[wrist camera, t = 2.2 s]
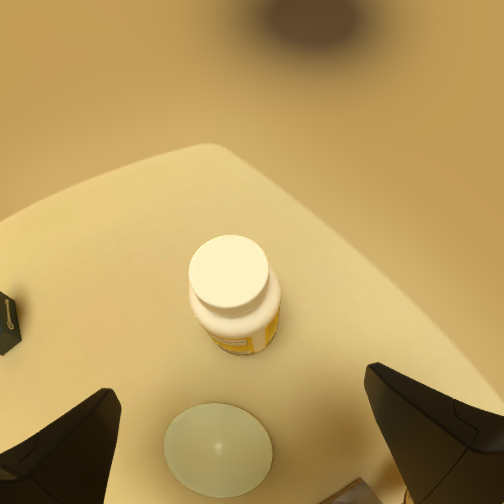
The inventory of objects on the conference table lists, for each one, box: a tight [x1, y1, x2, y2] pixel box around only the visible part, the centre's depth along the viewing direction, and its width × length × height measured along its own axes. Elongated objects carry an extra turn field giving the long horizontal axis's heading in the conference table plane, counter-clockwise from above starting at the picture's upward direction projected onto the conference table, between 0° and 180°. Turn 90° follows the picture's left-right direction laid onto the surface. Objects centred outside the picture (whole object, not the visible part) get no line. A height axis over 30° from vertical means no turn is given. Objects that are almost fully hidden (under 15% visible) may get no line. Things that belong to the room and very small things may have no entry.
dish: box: [163, 403, 273, 498], centre depth 16 cm, size 8×8×1 cm
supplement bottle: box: [188, 235, 281, 356], centre depth 18 cm, size 5×5×10 cm
